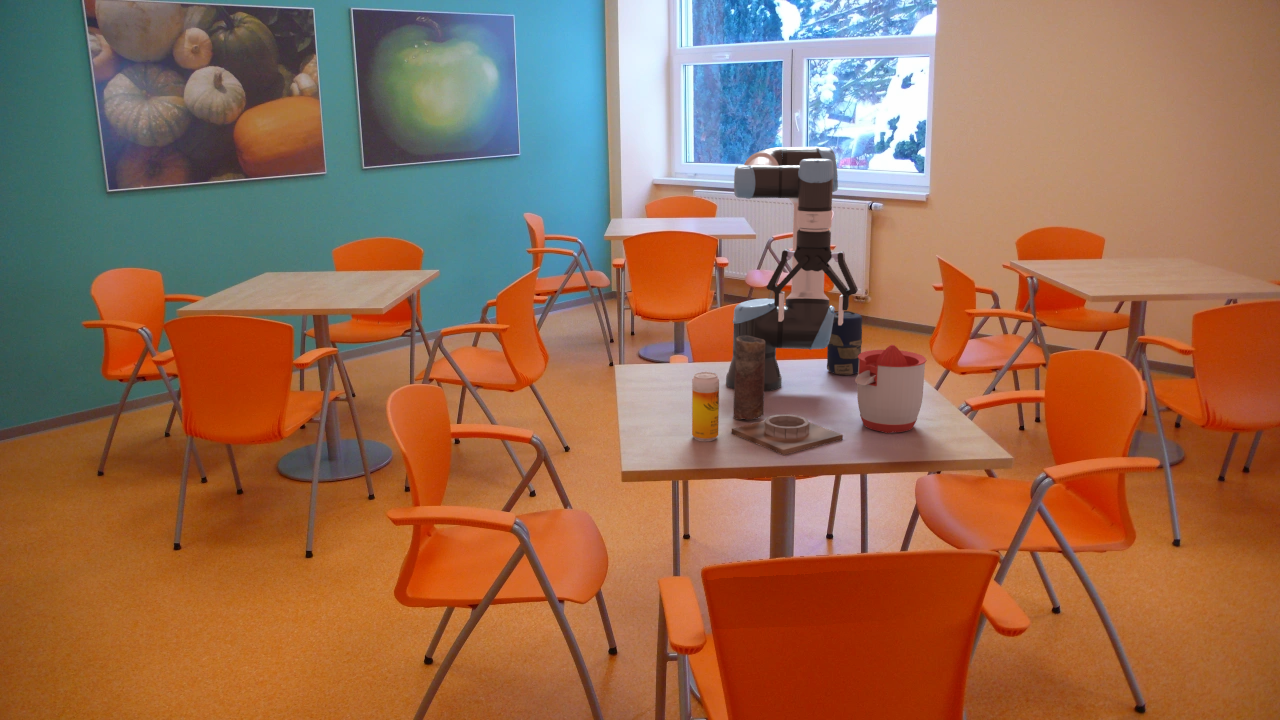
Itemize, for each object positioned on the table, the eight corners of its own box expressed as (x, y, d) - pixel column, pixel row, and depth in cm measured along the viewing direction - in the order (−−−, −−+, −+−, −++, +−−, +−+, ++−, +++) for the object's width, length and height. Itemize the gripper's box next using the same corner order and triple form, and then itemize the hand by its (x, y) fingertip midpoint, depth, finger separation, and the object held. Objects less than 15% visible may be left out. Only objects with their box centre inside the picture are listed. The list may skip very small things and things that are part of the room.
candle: (747, 411, 248) (748, 333, 243) (770, 417, 243) (772, 338, 238) (727, 417, 242) (728, 338, 237) (750, 424, 237) (752, 343, 232)
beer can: (716, 442, 225) (717, 379, 221) (690, 441, 226) (690, 378, 222) (719, 434, 230) (720, 372, 227) (694, 432, 232) (694, 371, 228)
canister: (863, 376, 278) (866, 314, 273) (829, 377, 278) (832, 314, 273) (856, 368, 287) (859, 307, 282) (823, 368, 287) (826, 307, 283)
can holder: (731, 433, 231) (731, 418, 230) (789, 419, 241) (789, 405, 240) (783, 455, 216) (783, 439, 216) (842, 439, 226) (843, 424, 225)
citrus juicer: (835, 423, 237) (838, 342, 232) (889, 412, 246) (894, 334, 241) (880, 442, 224) (885, 356, 219) (936, 429, 232) (942, 347, 227)
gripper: (755, 229, 221) (753, 322, 227) (868, 233, 213) (864, 329, 219) (762, 225, 228) (760, 315, 233) (872, 229, 220) (867, 322, 225)
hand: (810, 322), depth 226 cm, fingers open, 13 cm apart
